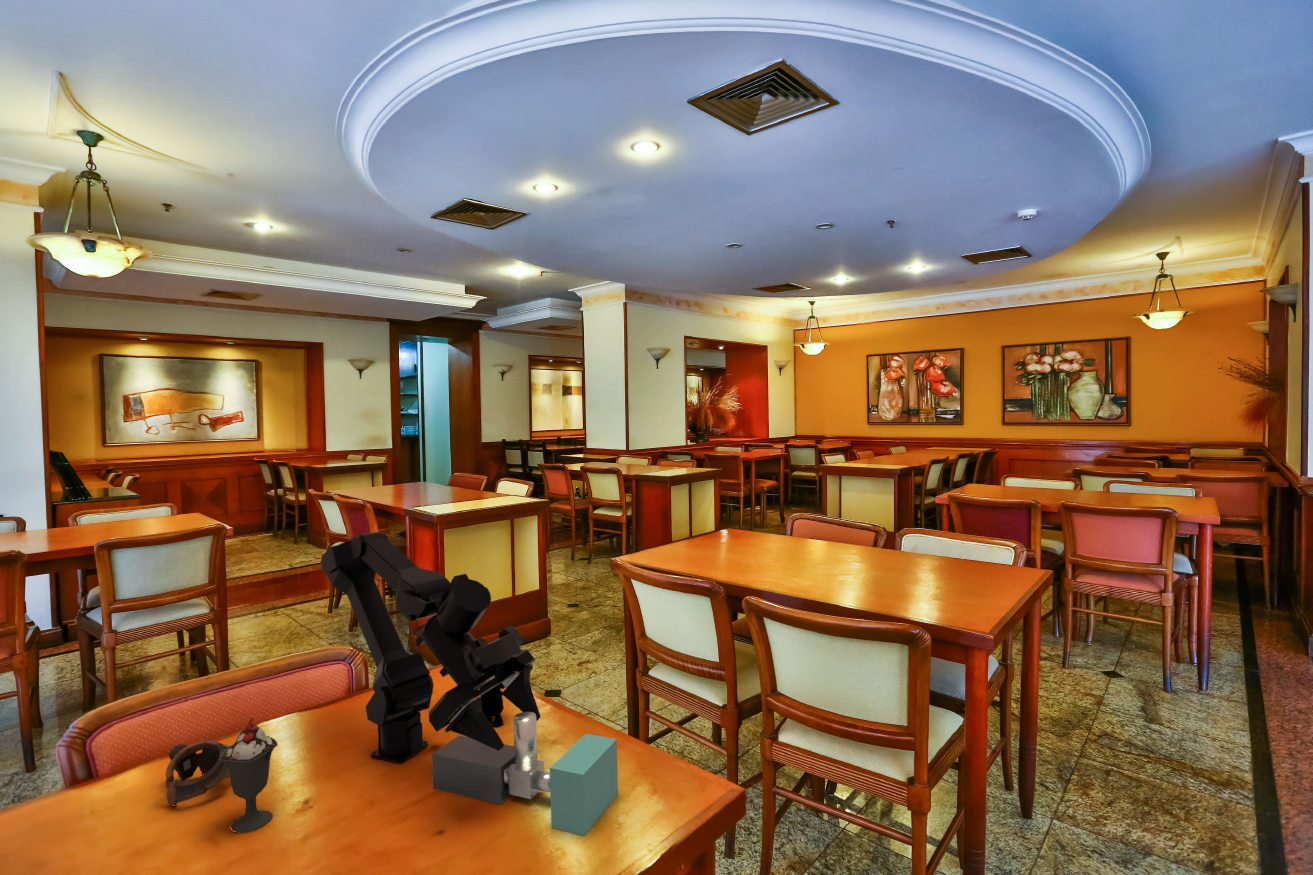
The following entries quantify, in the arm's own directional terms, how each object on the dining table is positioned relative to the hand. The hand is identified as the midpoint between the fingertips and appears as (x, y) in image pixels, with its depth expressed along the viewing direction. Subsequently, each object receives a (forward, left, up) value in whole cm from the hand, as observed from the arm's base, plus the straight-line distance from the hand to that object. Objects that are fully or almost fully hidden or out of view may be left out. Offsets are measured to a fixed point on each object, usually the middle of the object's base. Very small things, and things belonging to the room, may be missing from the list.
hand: (520, 733), depth 92 cm
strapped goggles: (-47, -15, -9) cm, 50 cm away
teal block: (+10, 0, -9) cm, 14 cm away
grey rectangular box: (-8, 0, -9) cm, 12 cm away
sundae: (-32, -18, -9) cm, 38 cm away
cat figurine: (-19, +18, -9) cm, 28 cm away
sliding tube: (-4, 0, -8) cm, 9 cm away
